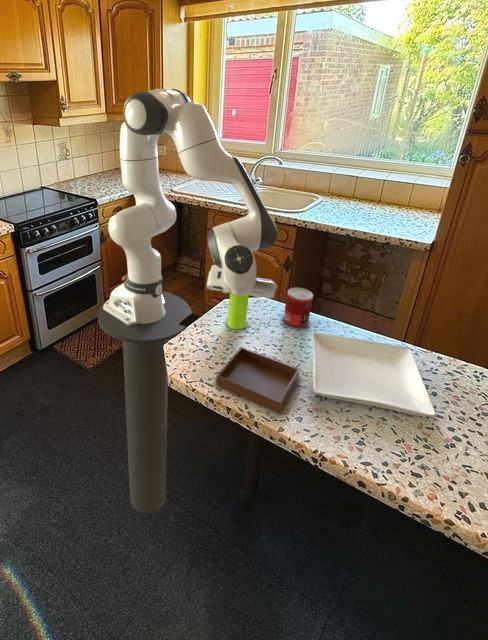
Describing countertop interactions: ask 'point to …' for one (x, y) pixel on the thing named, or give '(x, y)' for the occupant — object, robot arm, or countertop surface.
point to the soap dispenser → (237, 311)
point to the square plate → (369, 374)
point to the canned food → (298, 307)
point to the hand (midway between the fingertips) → (240, 293)
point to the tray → (258, 378)
